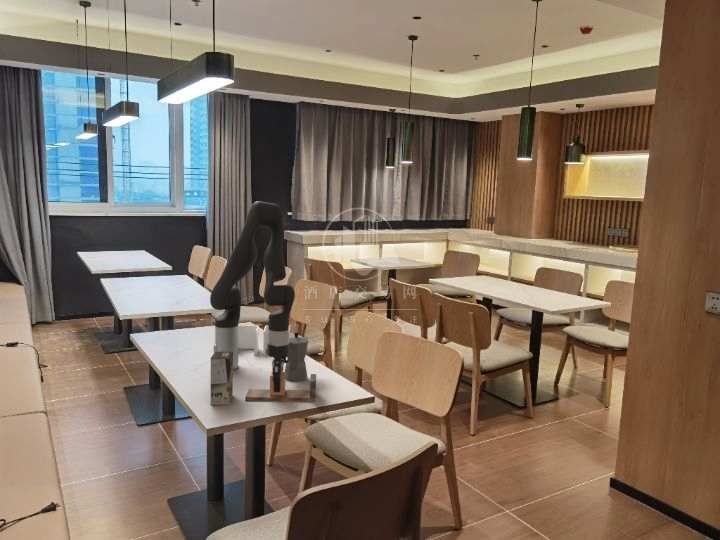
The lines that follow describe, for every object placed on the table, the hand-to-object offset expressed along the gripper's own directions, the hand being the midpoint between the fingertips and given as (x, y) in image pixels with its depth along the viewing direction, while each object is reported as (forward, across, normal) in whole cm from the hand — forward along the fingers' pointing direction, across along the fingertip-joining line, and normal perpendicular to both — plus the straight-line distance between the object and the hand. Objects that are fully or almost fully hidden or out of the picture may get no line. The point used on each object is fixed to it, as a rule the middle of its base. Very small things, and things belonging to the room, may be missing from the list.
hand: (277, 389), depth 202 cm
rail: (+3, 0, +1) cm, 3 cm away
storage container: (+3, -56, -13) cm, 57 cm away
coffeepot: (+3, -20, +4) cm, 21 cm away
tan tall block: (+2, 0, 0) cm, 2 cm away
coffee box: (+3, +4, -19) cm, 19 cm away
